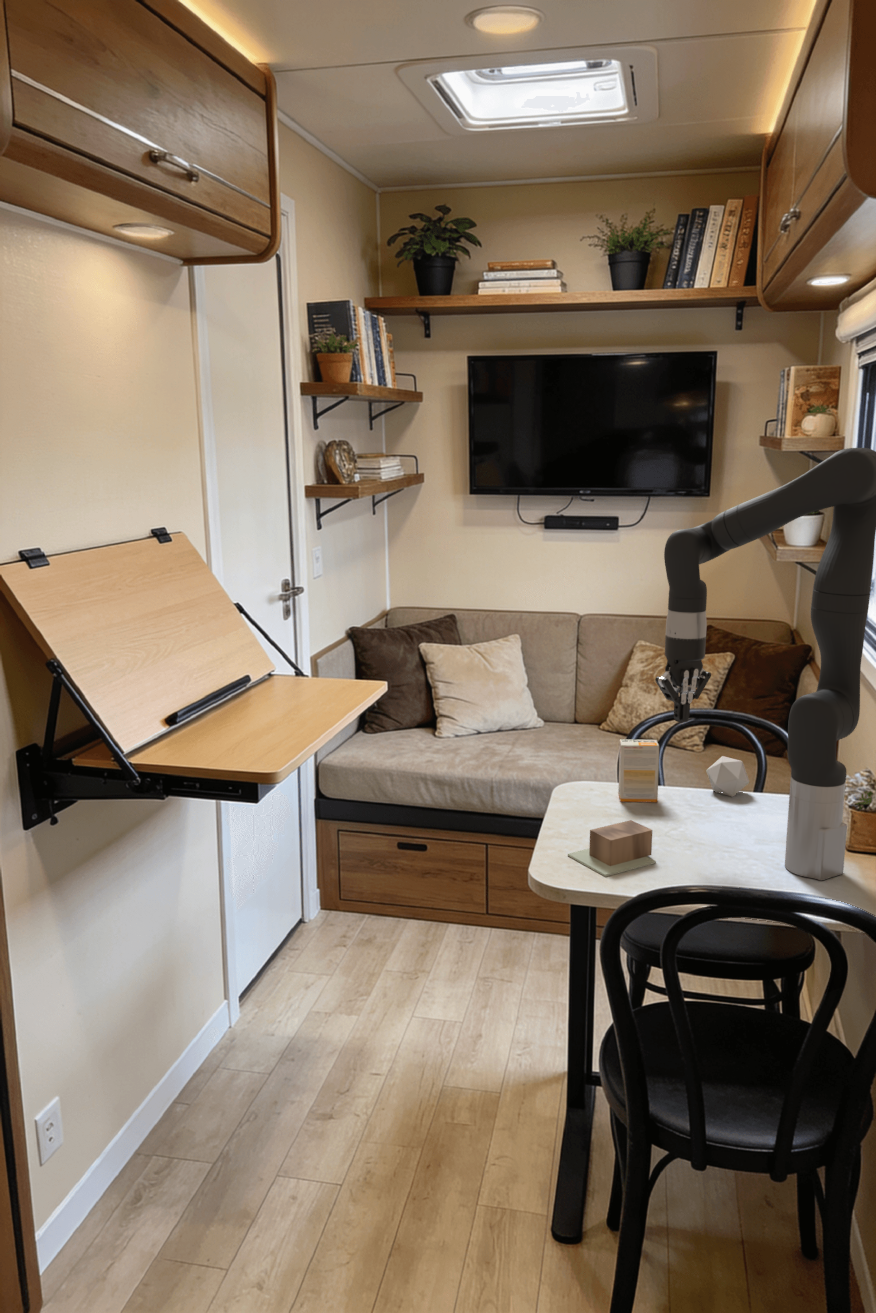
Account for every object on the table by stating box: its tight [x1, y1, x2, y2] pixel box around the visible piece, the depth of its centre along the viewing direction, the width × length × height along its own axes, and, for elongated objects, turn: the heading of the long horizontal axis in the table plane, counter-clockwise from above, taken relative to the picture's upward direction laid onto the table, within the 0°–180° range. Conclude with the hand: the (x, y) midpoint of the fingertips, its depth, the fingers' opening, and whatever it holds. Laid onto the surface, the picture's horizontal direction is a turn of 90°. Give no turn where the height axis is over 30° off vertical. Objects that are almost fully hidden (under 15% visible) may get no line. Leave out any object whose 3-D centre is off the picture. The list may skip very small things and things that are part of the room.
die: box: [705, 755, 750, 798], centre depth 222 cm, size 8×9×10 cm
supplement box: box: [617, 738, 660, 803], centre depth 218 cm, size 8×5×13 cm, turn 84°
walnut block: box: [588, 819, 653, 866], centre depth 187 cm, size 6×5×10 cm
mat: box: [567, 848, 657, 878], centre depth 186 cm, size 11×12×1 cm
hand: (681, 721), depth 193 cm, fingers closed
